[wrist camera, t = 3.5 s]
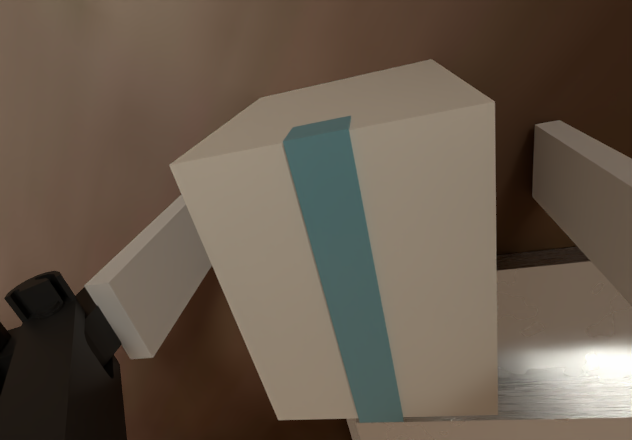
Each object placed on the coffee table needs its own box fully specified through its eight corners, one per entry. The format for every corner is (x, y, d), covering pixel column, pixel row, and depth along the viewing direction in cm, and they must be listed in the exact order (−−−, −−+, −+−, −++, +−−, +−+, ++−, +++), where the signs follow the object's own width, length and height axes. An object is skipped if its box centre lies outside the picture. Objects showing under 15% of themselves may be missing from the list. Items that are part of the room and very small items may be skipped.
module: (259, 96, 13) (165, 164, 7) (431, 57, 12) (496, 99, 6) (311, 276, 17) (277, 424, 11) (447, 260, 16) (499, 419, 9)
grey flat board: (310, 275, 17) (301, 319, 14) (957, 204, 12) (1105, 251, 10) (367, 474, 24) (367, 525, 22) (790, 477, 19) (851, 544, 17)
